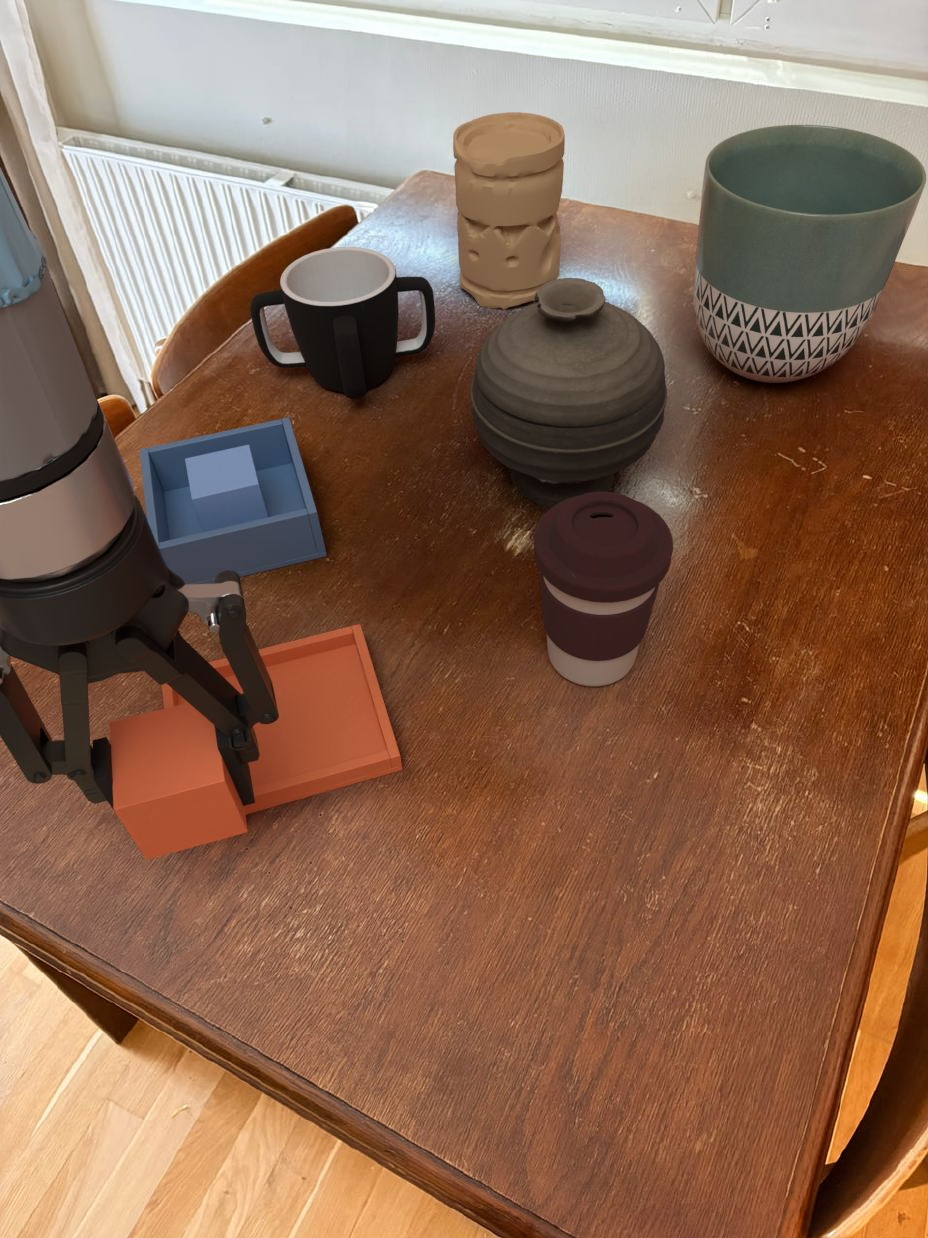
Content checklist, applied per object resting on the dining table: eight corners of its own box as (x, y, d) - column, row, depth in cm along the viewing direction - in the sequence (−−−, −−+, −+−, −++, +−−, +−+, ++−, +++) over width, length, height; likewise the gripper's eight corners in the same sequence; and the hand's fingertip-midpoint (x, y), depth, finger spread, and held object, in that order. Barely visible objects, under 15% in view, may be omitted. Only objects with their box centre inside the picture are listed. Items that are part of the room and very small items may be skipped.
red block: (146, 860, 53) (113, 810, 48) (140, 775, 56) (109, 721, 52) (248, 832, 54) (225, 780, 49) (235, 751, 57) (213, 696, 53)
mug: (452, 367, 102) (447, 268, 93) (348, 434, 95) (330, 333, 86) (357, 318, 110) (343, 222, 101) (254, 376, 103) (228, 278, 94)
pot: (541, 565, 80) (539, 361, 66) (443, 471, 92) (425, 280, 78) (696, 496, 86) (724, 294, 72) (586, 415, 98) (592, 229, 84)
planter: (860, 429, 92) (933, 223, 76) (665, 406, 96) (695, 206, 80) (857, 326, 104) (920, 130, 88) (685, 309, 108) (714, 118, 92)
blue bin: (169, 594, 81) (149, 550, 77) (156, 493, 90) (139, 449, 86) (327, 556, 83) (317, 511, 79) (299, 461, 93) (289, 416, 88)
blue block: (209, 547, 84) (191, 499, 79) (201, 506, 88) (184, 458, 83) (272, 532, 85) (258, 483, 80) (262, 492, 89) (248, 444, 84)
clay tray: (183, 832, 65) (174, 819, 64) (167, 689, 74) (160, 674, 72) (403, 770, 68) (400, 755, 66) (363, 639, 77) (360, 623, 75)
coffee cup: (620, 722, 70) (640, 592, 59) (509, 671, 74) (508, 541, 62) (670, 636, 75) (698, 503, 64) (565, 593, 79) (574, 460, 68)
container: (513, 321, 108) (513, 167, 94) (439, 287, 114) (429, 138, 100) (579, 280, 114) (588, 129, 100) (505, 250, 120) (504, 103, 106)
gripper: (260, 425, 41) (331, 713, 59) (-183, 515, 38) (32, 791, 56) (287, 531, 37) (356, 810, 54) (-216, 644, 33) (30, 902, 51)
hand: (191, 800), depth 55 cm, fingers closed on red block, 6 cm apart
